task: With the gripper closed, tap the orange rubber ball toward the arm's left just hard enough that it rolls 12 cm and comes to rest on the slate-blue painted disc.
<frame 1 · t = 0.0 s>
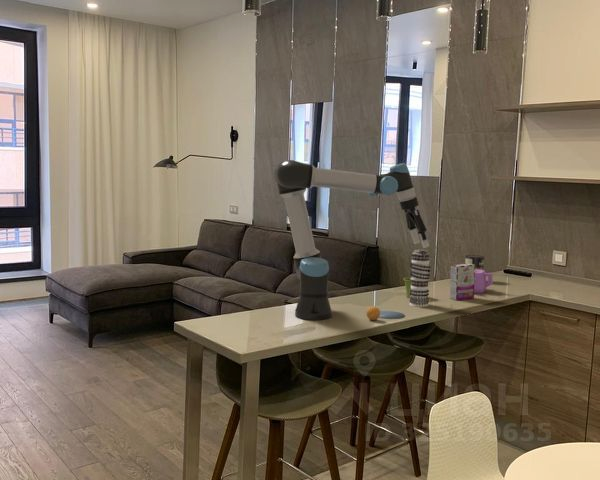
hand: (421, 245, 267), 28 cm above the table, tool tilted 20°, fingers open, 13 cm apart
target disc: (389, 315, 255), on the table
ball: (373, 313, 246), on the table
decorative candle: (418, 305, 276), on the table
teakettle: (469, 291, 313), on the table
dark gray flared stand: (473, 281, 342), on the table
candy bar box: (461, 299, 292), on the table
plant pot: (412, 297, 294), on the table
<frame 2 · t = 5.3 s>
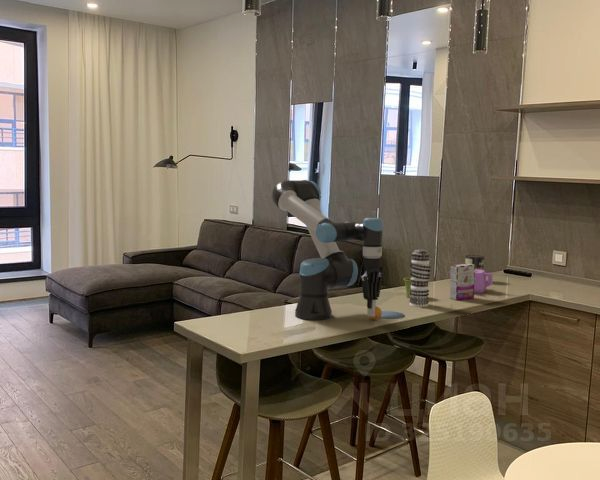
hand: (371, 315, 244), 2 cm above the table, tool pointing down, fingers closed
ball: (374, 313, 246), on the table, touching gripper
everything else where it was.
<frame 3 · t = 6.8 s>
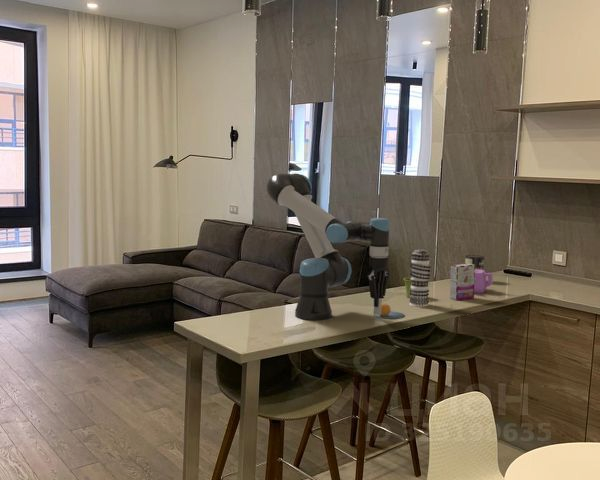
hand: (377, 314, 248), 2 cm above the table, tool pointing down, fingers closed
ball: (383, 309, 253), on the table
everything else where it was.
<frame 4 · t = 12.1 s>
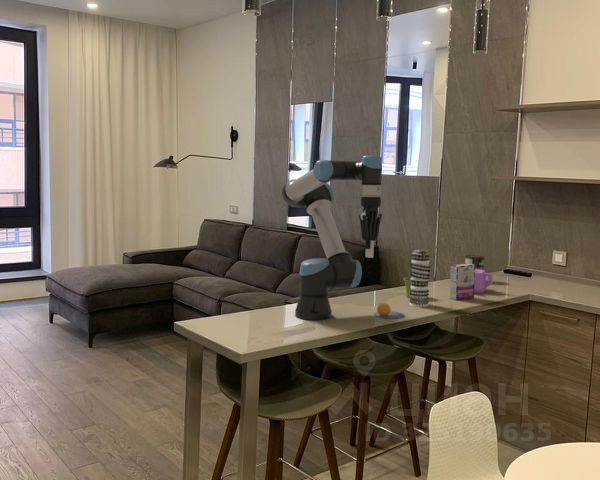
hand: (369, 257, 237), 26 cm above the table, tool pointing down, fingers closed
nothing on the table moved.
at the end: ball 3.4 cm from the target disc (horizontally); ball at rest at the end (0.0 cm/s); ball moved 8.6 cm from its start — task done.
